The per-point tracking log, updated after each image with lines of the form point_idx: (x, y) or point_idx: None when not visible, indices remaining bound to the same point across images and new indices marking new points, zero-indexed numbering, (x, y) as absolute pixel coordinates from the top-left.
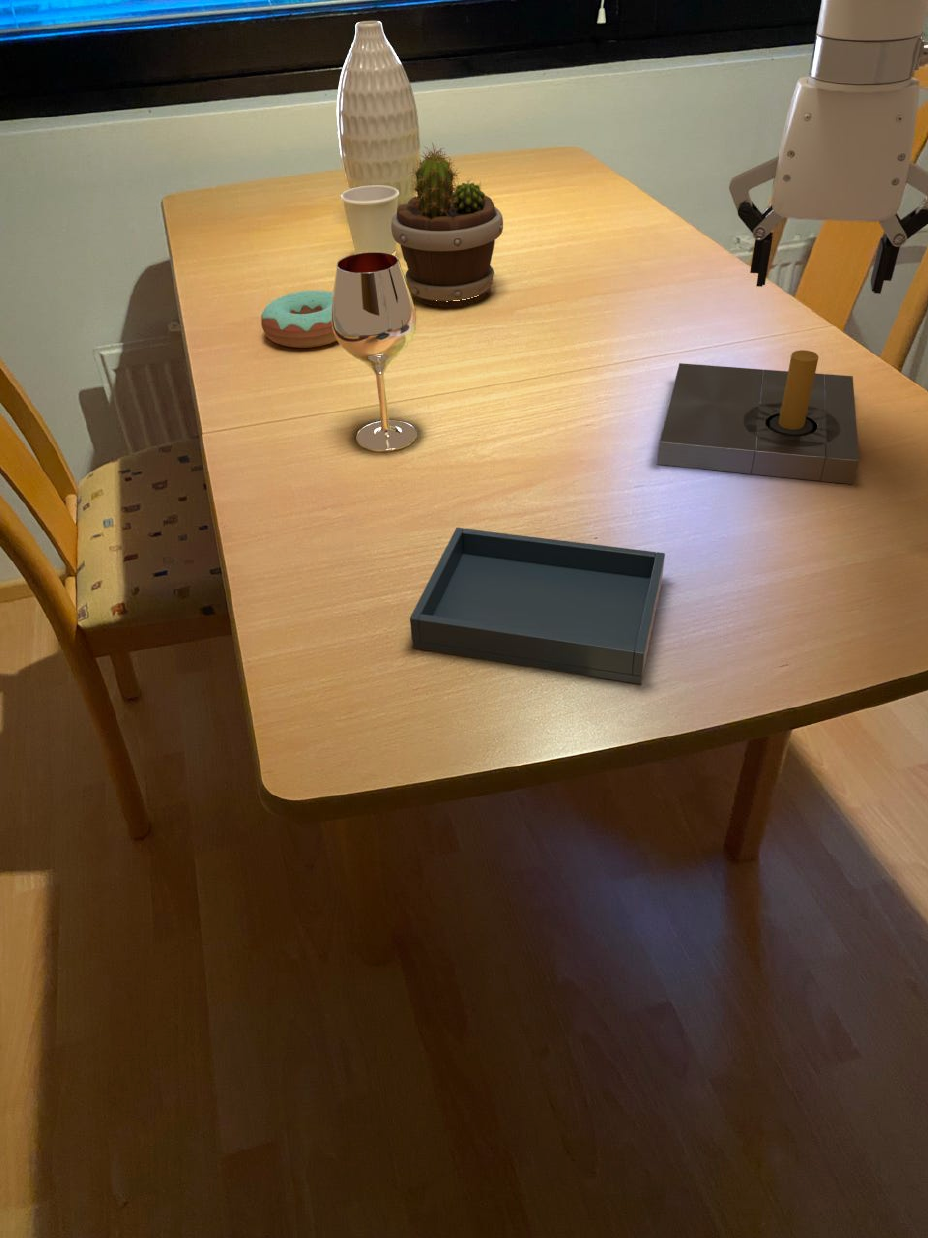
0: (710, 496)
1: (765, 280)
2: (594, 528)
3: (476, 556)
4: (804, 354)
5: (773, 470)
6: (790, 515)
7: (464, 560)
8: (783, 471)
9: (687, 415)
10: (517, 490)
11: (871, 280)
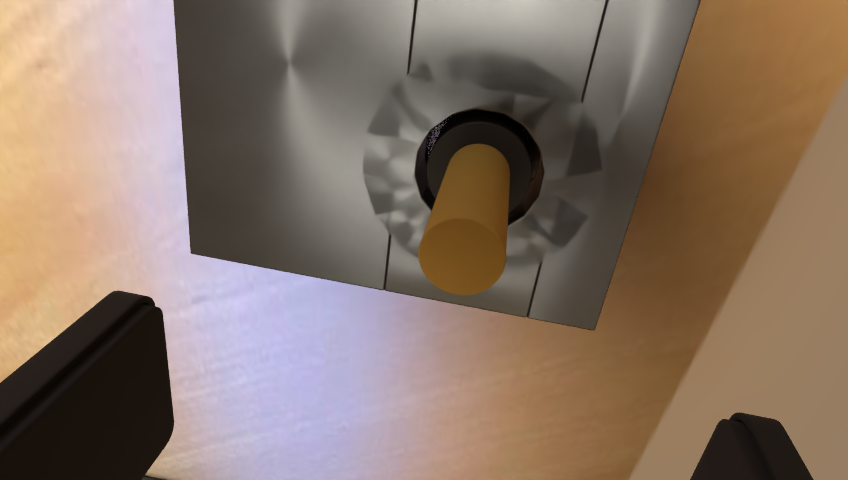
0: (321, 330)
1: (159, 452)
2: None
3: None
4: (460, 251)
5: None
6: (452, 383)
7: None
8: None
9: (231, 134)
10: (16, 308)
11: (710, 460)
